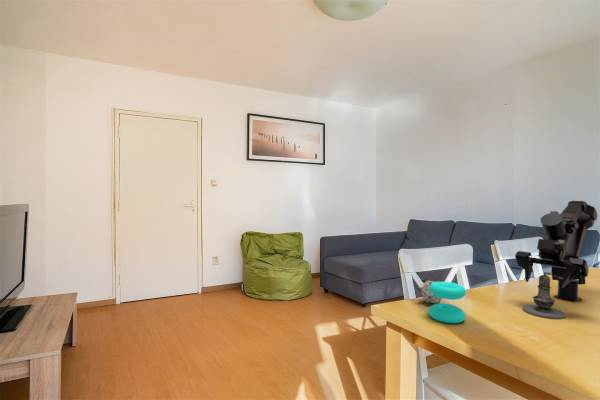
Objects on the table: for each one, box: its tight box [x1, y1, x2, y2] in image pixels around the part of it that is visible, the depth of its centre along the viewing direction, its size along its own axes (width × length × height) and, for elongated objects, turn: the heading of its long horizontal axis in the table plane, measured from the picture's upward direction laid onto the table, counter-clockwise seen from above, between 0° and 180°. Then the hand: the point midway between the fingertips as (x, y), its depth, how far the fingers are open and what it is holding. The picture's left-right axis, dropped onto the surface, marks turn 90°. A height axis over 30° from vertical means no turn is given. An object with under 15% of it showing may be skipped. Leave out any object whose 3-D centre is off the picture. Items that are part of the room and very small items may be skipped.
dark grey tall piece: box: [532, 272, 556, 313], centre depth 108 cm, size 6×6×12 cm
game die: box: [417, 278, 443, 304], centre depth 114 cm, size 9×8×10 cm
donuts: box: [428, 281, 467, 324], centre depth 101 cm, size 10×10×10 cm
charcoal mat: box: [522, 304, 566, 320], centre depth 108 cm, size 11×11×1 cm
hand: (543, 284), depth 107 cm, fingers open, 9 cm apart
